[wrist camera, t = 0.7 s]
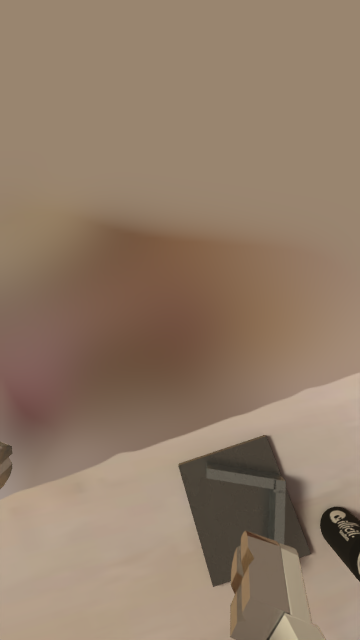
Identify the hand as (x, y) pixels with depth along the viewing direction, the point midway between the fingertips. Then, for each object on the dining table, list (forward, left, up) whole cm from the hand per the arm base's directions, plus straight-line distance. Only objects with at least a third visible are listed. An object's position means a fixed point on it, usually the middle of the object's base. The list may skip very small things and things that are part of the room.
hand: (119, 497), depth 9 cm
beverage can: (-28, -19, -48) cm, 59 cm away
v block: (-20, -4, -48) cm, 52 cm away
